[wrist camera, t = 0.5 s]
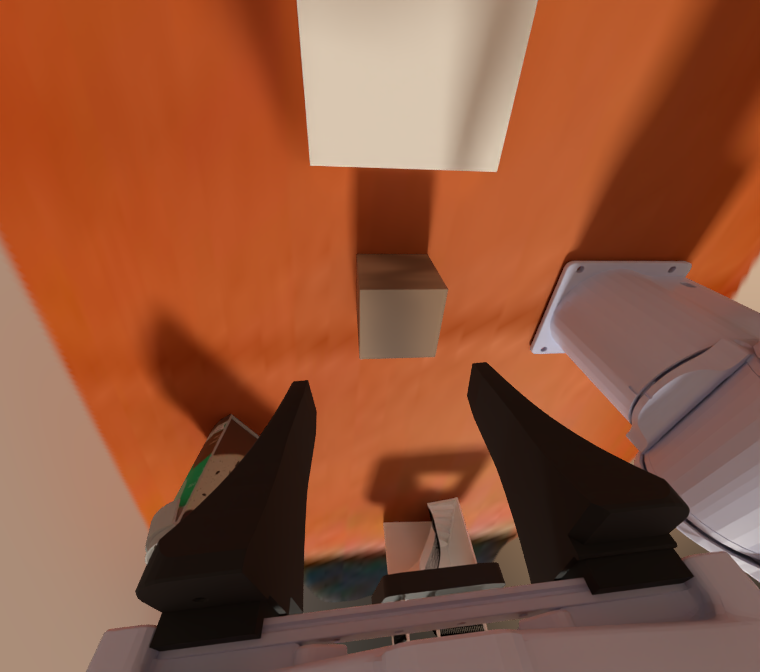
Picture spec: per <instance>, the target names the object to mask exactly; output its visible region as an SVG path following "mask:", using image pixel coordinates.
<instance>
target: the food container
mask: <svg viewBox="0 0 760 672" xmlns="http://www.w3.org/2000/svg"><path fill="white" fill-rule="evenodd" d="M258 438H259V436H258V435H257V434H256V433H254V432H253V431H252V430H251V429H249V428H248V427H247V426H246V425H244V424H243V423H242V422H241V421H239V420H238V419H237V418H236V417H234V416H233V415H232V414H230V415H229V416H227V417H225V418H223V419H221V420H220V421H219V422H218V423H217V425H216V426H215V427H214V428H213V429H212V431H211V433H210V435H209V437H208V439H207V440H206V442H205V444H204V446H203V448H202V450H201V451H200V453H199V455H198V457H197V459H196V461H195V462H194V464H193V466H192V468H191V470H190V472H189V473H188V475H187V477H186V479H185V481H184V483H183V485H182V486H181V488H180V490H179V492H178V494H177V496H176V497H175V499H174V501H173V502H171V503H169V504H167V505H165V506H164V507H163V508H161V509H160V510H159V511H158V512H157V513H156V514H155V515H154V517H153V519H152V521H151V525H150V529H149V533H148V537H147V542H146V549H145V550H146V556H145V562H146V565H147V563H148V561H149V559H150V557H151V555H152V553H153V551H154V549H155V547H156V545H157V543H158V541H159V539H161V538H162V537H163V536H164V535H165V534H167V533H168V532H169V531H170V530H171V529H172V528H174V527H175V526H176V525H177V524H178V523H179V522H180V521H182V520H183V519H184V518H185V517H186V516H187V515H189V514H190V513H191V512H192V511H193V510H194V509H195V508H196V507H197V506H198V505H199V504H200V503H201V502H202V501H203V500H204V499H205V498H206V497H207V496H208V495H209V494H211V493H212V492H213V491H214V490H215V489H216V488H217V487H218V486H219V485H220V483H221V482H222V481H223V480H224V479H225V478H226V477H227V476H228V475H229V474H230V472H231V471H232V470H233V469H234V468H235V467H236V466H237V465H238V463H239V462H240V461H241V460H242V459H243V457H244V456H245V455H246V454H247V452H248V451H249V450H250V449H251V447H252V446H253V445H254V443H255V442H256V441H257V439H258Z"/></svg>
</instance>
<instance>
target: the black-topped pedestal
mask: <svg viewBox="0 0 760 672" xmlns="http://www.w3.org/2000/svg"><path fill="white" fill-rule="evenodd" d="M427 506H428V508H429V510H430V511H429V513H430V515H431V516H430V518H431V521H429V522H384V523H383V526H384V536H385V547H386V557H387V568H388V575H385V576H383V577H382V579H381V581H380V583H379V584H378V586H377V588H376V590H375V591H374V593H373V595H372V605H373V604H380V603H388V602H396V601H404V600H412V599H419V598H427V597H435V596H443V595H450V594H458V593H466V592H474V591H482V590H489V589H497V588H502V587H504V586H505V581H504V579H503V576H502V573H501V570H500V567H499V564H498V563H494V562H493V563H478V564H477V561H476V558H475V554H474V551H473V548H472V544H471V541H470V537H469V534H468V531H467V527H466V524H465V520H464V517H463V514H462V510H461V507H460V504H459V500H458V497H455V498H452V499H447V500H441V501H436V502H431V503H427ZM477 625H478V626H481V625H483V627H484V629H483V631H488V630H487V626H486V623H485V624H477ZM477 625H470V626H471V627H472V626H473V628H474V626H477ZM470 626H463V627H470ZM463 627H462V628H463ZM454 628H459V627H454ZM454 628H453V629H454ZM460 628H461V627H460ZM447 629H450V628H447ZM451 629H452V628H451ZM475 629H476V628H475ZM440 630H441V629H439V630H432V631H433V632H434V634H435V635H436V637H443V636H450V635H458V634H465V633H473V630H472V632H471V630H470V632H468V631H467V632H466V631H465V633H464V631H463V633H462V631H461V633H454V634H453V632H452V634H451V631H450V634H449V633H448V634H443V635H442V634H441V635H440ZM442 630H443V629H442ZM468 630H469V629H468ZM446 631H447V630H446ZM436 632H437V633H436ZM474 632H475V630H474ZM476 632H480V629H479V631H476ZM402 635H404V636H402ZM402 635H394V636H392V644H393V645H396V644H398V643H403V642H405V641H406V640H407V642H408V641H410V638H409V634H402Z"/></svg>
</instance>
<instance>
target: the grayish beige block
mask: <svg viewBox="0 0 760 672" xmlns="http://www.w3.org/2000/svg"><path fill="white" fill-rule="evenodd" d="M447 292H448V288H447V287H446V285H445V283H444V282H443V280H442V278H441V276H440V275H439V273H438V271H437V270H436V268H435V266H434V265H433V263H432V261H431V259H430V258H429V256H428V254H357V324H358V340H359V357H360V359H382V358H416V357H435V354H436V349H437V344H438V339H439V334H440V329H441V323H442V318H443V313H444V308H445V303H446V297H447Z"/></svg>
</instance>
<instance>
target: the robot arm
mask: <svg viewBox="0 0 760 672" xmlns="http://www.w3.org/2000/svg"><path fill="white" fill-rule="evenodd" d="M580 266H581V267H580ZM579 267H580V269H579V270H577V269H578V268H579ZM691 267H692V265H691V263H689V262H686V261H570V262H568V263H567V264H566V265H565V267H564V269H563V271H562V273H561V276H560V278H559V280H558V283H557V285H556V288H555V290H554V292H553V295H552V297H551V299H550V302H549V304H548V306H547V309H546V311H545V314H544V316H543V318H542V321H541V323H540V325H539V328H538V330H537V332H536V335H535V337H534V340H533V342H532V344H531V347H530V350H531V352H532V353H534V354H548V353H566V354H567V355H568V356H569V357H570V358H571V359H572V361H573V362H574V363H575V364H576V365H577V366H578V367H579V368H580V369H581V370H582V371H583V373H584V374H585V375H586V376H587V377H588V378H589V379H590V380H591V381H592V382H593V383H594V384H595V386H596V387H597V388H598V389H599V390H600V391H601V392H602V393H603V394H604V395H605V396H606V397H607V399H608V400H609V401H610V402H611V403H612V404H613V405H614V406H615V407H616V408H617V409H618V411H619V412H620V413H621V414H622V415H623V416H624V417H625V418H626V419H627V420H628V421H629V422H630V424H631V425H632V427H631V429H630V431H629V432H628V433H627V434H626V436H627V437H628V439H629V440H630V441H631V442H632V443H633V444H634V445H635V447H636V448H637V449H638V450H639V452H638V453H637V454H636V457H635V460H634V465H632V464H630V463H628V462H626V461H624V460H622V459H620V458H618V457H616V456H614V455H612V454H610V453H608V452H607V451H605V450H603V449H601V448H599V447H597V446H596V445H594V444H592V443H590V442H589V441H587V440H585V439H584V438H582V437H580V436H579V435H577V434H575V433H574V432H572V431H571V430H569V429H567V428H566V427H565V426H563V425H562V424H560V423H559V422H557V421H556V420H554V419H553V418H551V417H550V416H549V415H547V414H546V413H544V412H543V411H542V410H541V409H539V408H538V407H537V406H535V405H534V404H533V403H532V402H530V401H529V400H528V399H527V398H526V397H524V396H523V395H522V394H521V393H520V392H519V391H517V390H516V389H515V388H514V387H513V386H512V385H511V384H509V383H508V382H507V381H506V380H505V379H504V378H503V377H502V376H501V375H500V374H498V373H497V372H496V371H495V370H494V369H493V368H492V367H491V366H490V365H489V364H488V363H486V362H483V363H473V364H472V369H471V375H470V381H469V387H468V393H467V397H468V400H469V404H470V407H471V410H472V414H473V417H474V419H475V421H476V424H477V426H478V428H479V430H480V432H481V435H482V437H483V439H484V441H485V443H486V446H487V448H488V450H489V452H490V454H491V457H492V459H493V461H494V463H495V466H496V468H497V471H498V473H499V476H500V479H501V482H502V485H503V488H504V491H505V494H506V497H507V500H508V503H509V507H510V510H511V513H512V516H513V519H514V523H515V526H516V529H517V533H518V536H519V540H520V543H521V547H522V550H523V554H524V558H525V561H526V565H527V569H528V573H529V577H530V581H531V584H528V585H521V586H513V587H505V588H497V589H489V590H482V591H474V592H466V593H458V594H450V595H443V596H435V597H427V598H419V599H412V600H404V601H396V602H388V603H380V604H373V605H365V606H357V607H350V608H342V609H334V610H326V611H318V612H310V613H304V614H302V613H303V576H304V541H305V519H306V502H307V489H308V481H309V475H310V469H311V462H312V456H313V449H314V442H315V436H316V413H317V411H316V408H315V404H314V400H313V397H312V393H311V390H310V386H309V382H308V380H305V381H295V382H293V383H292V384H291V386H290V388H289V390H288V392H287V394H286V395H285V397H284V399H283V401H282V402H281V404H280V406H279V407H278V409H277V411H276V412H275V414H274V415H273V417H272V419H271V420H270V422H269V423H268V425H267V426H266V428H265V429H264V431H263V432H262V434H261V435H260V436H259V438H258V439H257V441H256V442H255V443H254V445H253V446H252V447H251V449H250V450H249V451H248V452H247V454H246V455H245V456H244V457H243V459H242V460H241V461H240V462H239V463H238V465H237V466H236V467H235V468H234V469H233V470H232V471H231V472H230V474H229V475H228V476H227V477H226V478H225V479H224V480H223V481H222V482H221V483H220V485H219V486H218V487H217V488H216V489H215V490H214V491H213V492H212V493H211V494H209V495H208V496H207V497H206V498H205V499H204V500H203V501H202V502H201V503H200V504H199V505H198V506H197V507H196V508H195V509H194V510H193V511H192V512H191V513H190V514H189V515H187V516H186V517H185V518H184V519H183V520H182V521H180V522H179V523H178V524H177V525H176V526H175V527H174V528H172V529H171V530H170V531H169V532H168V533H167V534H165V535H164V536H163V537H162V538H161V539H159V541H158V543H157V545H156V547H155V549H154V551H153V553H152V555H151V557H150V559H149V561H148V563H147V566H146V568H145V570H144V573H143V575H142V577H141V580H140V582H139V584H138V586H137V589H136V591H135V592H136V595H137V597H138V599H140V600H141V601H142V602H144V603H146V604H148V605H149V606H151V607H153V608H155V609H156V610H158V611H160V612H162V614H161V617H160V620H159V622H158V625H157V626H156V625H138V626H131V627H123V628H115V629H109V630H107V631H106V632H105V633H104V634H103V637H102V639H101V641H100V643H99V645H98V647H97V649H96V652H95V654H94V656H93V658H92V660H91V662H90V664H89V666H88V669H87V671H86V672H760V590H759V588H758V587H757V586H756V585H755V584H754V583H753V582H752V580H751V579H750V578H749V577H748V576H747V575H746V573H748V574H749V575H750V576H752V577H753V578H755V579H756V580H757V581H759V582H760V313H758V312H756V311H754V310H752V309H750V308H748V307H746V306H744V305H742V304H740V303H738V302H736V301H733V300H731V299H729V298H727V297H725V296H723V295H721V294H719V293H717V292H715V291H713V290H711V289H709V288H707V287H704V286H702V285H700V284H698V283H696V282H694V281H692V280H690V279H688V278H686V275H687V274H688V272H689V271H690V269H691ZM675 528H677V529H678V530H679V531H681V532H682V533H683V534H684V535H686V536H687V537H688V538H690V539H691V540H693V541H694V542H695V543H697V544H699V545H700V546H702V547H703V548H705V549H706V550H708V551H710V552H711V553H703V554H696V555H690V556H687V557H684V558H680V557H679V555H678V554H677V553H676V551H675V550H674V549H673V548H676V547H677V543H676V542H675V541H674V539H673V538H672V537H671V535H670V534H669V533H670V532H671V531H672V530H673V529H675ZM745 572H746V573H745ZM522 618H526V619H522ZM515 619H522V620H520V622H519V628H518V629H517V630H513V629H498V630H488V631H480V632H473V633H465V634H458V635H450V636H443V637H435V638H428V639H421V640H414V641H408V642H403V643H398V644H396V645H391V646H386V647H381V648H377V649H372V650H367V651H362V652H357V653H353V654H347V647H346V646H345V645H340V644H339V645H338V644H336V645H335V644H334V643H341V642H348V641H356V640H364V639H371V638H379V637H387V636H394V635H402V634H409V633H417V632H424V631H432V630H439V629H447V628H454V627H462V626H470V625H477V624H485V623H492V622H500V621H507V620H515Z"/></svg>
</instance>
